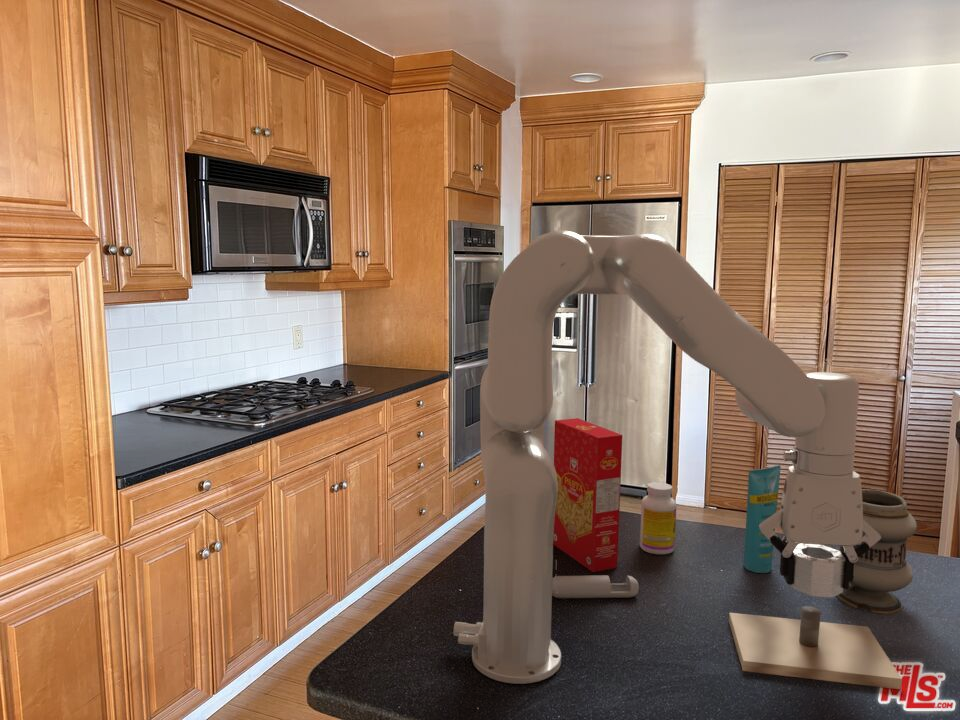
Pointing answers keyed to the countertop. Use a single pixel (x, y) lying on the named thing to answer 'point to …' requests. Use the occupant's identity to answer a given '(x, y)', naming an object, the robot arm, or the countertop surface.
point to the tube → (760, 517)
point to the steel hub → (818, 570)
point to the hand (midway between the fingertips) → (815, 581)
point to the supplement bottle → (658, 519)
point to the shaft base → (812, 649)
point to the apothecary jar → (882, 555)
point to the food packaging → (587, 492)
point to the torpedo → (592, 587)
